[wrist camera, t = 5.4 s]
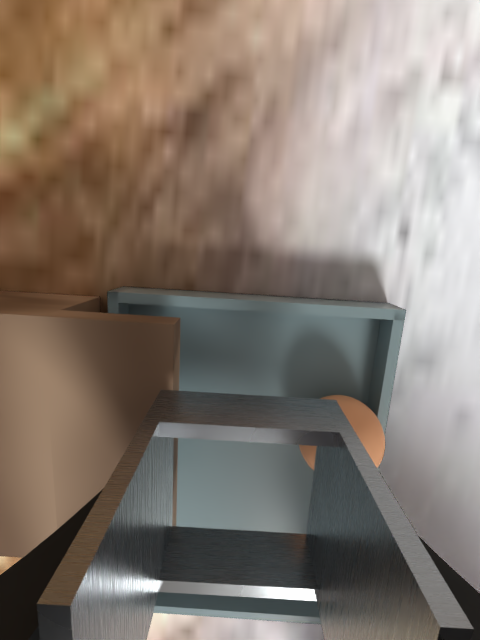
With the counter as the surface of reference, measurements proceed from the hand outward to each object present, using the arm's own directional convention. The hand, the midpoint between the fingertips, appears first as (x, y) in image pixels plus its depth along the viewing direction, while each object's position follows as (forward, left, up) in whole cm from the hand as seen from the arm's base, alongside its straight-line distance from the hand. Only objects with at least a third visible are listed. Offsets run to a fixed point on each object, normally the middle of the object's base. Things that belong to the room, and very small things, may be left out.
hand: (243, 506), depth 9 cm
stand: (-8, 0, -6) cm, 10 cm away
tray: (0, -3, -6) cm, 6 cm away
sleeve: (0, 0, -1) cm, 1 cm away
